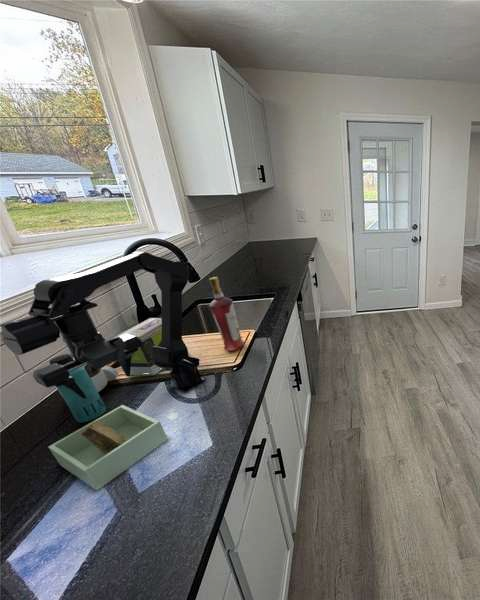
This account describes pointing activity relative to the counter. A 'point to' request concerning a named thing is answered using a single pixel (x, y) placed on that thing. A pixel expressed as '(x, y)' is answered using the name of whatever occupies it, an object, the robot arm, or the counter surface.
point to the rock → (103, 436)
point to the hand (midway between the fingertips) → (107, 386)
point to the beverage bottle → (93, 402)
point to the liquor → (225, 318)
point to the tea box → (145, 346)
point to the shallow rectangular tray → (103, 468)
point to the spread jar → (100, 376)
